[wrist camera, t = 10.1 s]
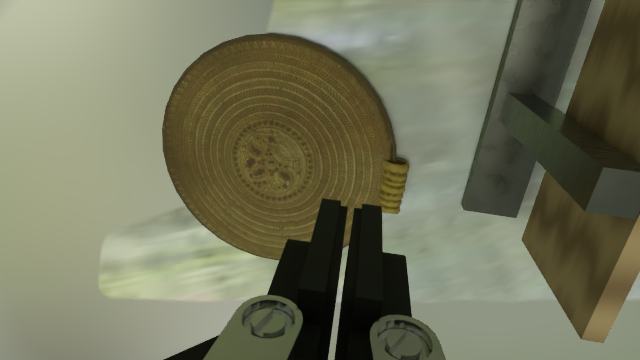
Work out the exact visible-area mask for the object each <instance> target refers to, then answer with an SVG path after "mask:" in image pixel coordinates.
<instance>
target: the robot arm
mask: <svg viewBox="0 0 640 360" xmlns="http://www.w3.org/2000/svg"><path fill="white" fill-rule="evenodd" d="M347 211H348V207H347V206H341V201H340V200H332V199H325V198H322V201H321V204H320V208H319V212H318V216H317V219H316V223H315V227H314V230H313V234H312V238H311V242H307V241H300V240H294V239H288V240H287V242H286V244H285V247H284V250H283V253H282V255H281V258H280V261H279V264H278V266H277V269H276V272H275V275H274V277H273V280H272V283H271V286H270V289H269V291H268V294H267V295H263V296H258V297H254V298H251V299H249V300H247V301H246V302H244V303H243V304H242V305H241V306H240V307H239V308H238V309H237V310H236V312H235V313H234V315H233V316H232V318H231V319H230V321H229V322H228V323H227V325H226V327H225V328H224V330H223V331H222V332H221V334H220V335H219V336H216V337H214V338H212V339H210V340H207V341H205V342H203V343H200V344H198V345H196V346H194V347H191V348H189V349H187V350H185V351H182V352H180V353H178V354H176V355H173V356H171V357H169V358H167V359H164V360H328V354H329V346H330V339H331V331H332V324H333V317H334V310H335V303H336V295H337V288H338V280H339V272H340V265H341V257H342V249H343V242H344V234H345V226H346V219H347ZM335 360H446V359H445V356H444V353H443V350H442V347H441V344H440V342H439V340H438V338H437V336H436V334H435V333H434V332H433V331H432V330H431V329H430V328H429V327H428V326H427V325H425V324H424V323H422V322H420V321H419V320H417V319H414V318H412V314H411V305H410V294H409V284H408V274H407V264H406V257H405V255H398V254H391V253H384V252H382V206H377V205H369V204H362V209H361V208H354V213H353V220H352V227H351V234H350V242H349V249H348V256H347V263H346V271H345V278H344V285H343V293H342V301H341V310H340V318H339V327H338V335H337V344H336V352H335Z"/></svg>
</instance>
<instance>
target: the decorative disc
mask: <svg viewBox="0 0 640 360" xmlns="http://www.w3.org/2000/svg"><path fill="white" fill-rule="evenodd" d="M162 134H163V152H164V157H165V161H166V165H167V169H168V172H169V175H170V177H171V180H172V182H173V184H174V187H175V189H176V191H177V193H178V194H179V196H180V197H181V199H182V200H183V202H184V204H185V205H186V207H187V208H188V209H189V211H190V212H191V213H192V214H193V215H194V216H195V217H196V218H197V220H198V221H199V222H200V223H201V224H202V225H203V226H205V227H206V228H207V229H208V230H210V231H211V232H212V233H213V234H215V235H216V236H217V237H218V238H220V239H221V240H223V241H225V242H226V243H228V244H230V245H232V246H234V247H235V248H237V249H240V250H243V251H245V252H248V253H250V254H253V255H256V256H260V257H264V258H269V259H274V260H280V258H281V255H282V253H283V250H284V247H285V244H286V242H287V240H288V239H294V240H300V241H307V242H311V238H312V234H313V230H314V227H315V223H316V219H317V216H318V212H319V208H320V204H321V201H322V198H325V199H332V200H340V201H341V206H347V207H348V211H347V219H346V226H345V234H344V242H343V248H344V247H346V246H348V245H349V242H350V234H351V227H352V220H353V213H354V208H361V209H362V204H369V205H377V206H382V212H384V213H391V214H398V213H399V211H400V207H399V205H400V204H401V202H402V201H401V199H402V198H403V192H404V191H405V183H406V179H407V172H408V170H409V164H408V163H407V162H406V161H405V160H402V159H399V158H396V145H395V140H394V135H393V131H392V126H391V122H390V120H389V118H388V116H387V113H386V111H385V109H384V107H383V104H382V102H381V100H380V99H379V97H378V96H377V94H376V93H375V92H374V90H373V89H372V87H371V86H370V85H369V83H368V82H367V80H366V79H365V78H364V77H363V76H362V75H361V74H360V73H359V72H357V71H356V70H355V69H354V68H353V67H352V66H351V65H350V64H349V63H348V62H347V61H346V60H344V59H342V58H341V57H339V56H338V55H336V54H334V53H333V52H331V51H329V50H328V49H326V48H325V47H323V46H320V45H318V44H315V43H312V42H309V41H307V40H304V39H301V38H299V37H293V36H286V35H279V34H259V35H258V34H257V35H246V36H243V37H239V38H235V39H232V40H229V41H226V42H223V43H221V44H219V45H218V46H216V47H214V48H212V49H210V50H208V51H207V52H205V53H203V54H202V55H201V56H200V57H199V58H198V59H197V60H196V61H194V62H193V63H192V64H191V65H190V66H189V67H188V68H187V69H186V70H185V72H184V73H183V74H182V76H181V77H180V79H179V80H178V82H177V83H176V85H175V86H174V88H173V91H172V93H171V96H170V98H169V101H168V103H167V106H166V110H165V115H164V122H163V128H162Z"/></svg>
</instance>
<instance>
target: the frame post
mask: <svg viewBox="0 0 640 360" xmlns="http://www.w3.org/2000/svg"><path fill="white" fill-rule="evenodd" d="M590 2H591V0H518V2H517V6H516V10H515V13H514V17H513V20H512V24H511V28H510V31H509V35H508V38H507V42H506V46H505V49H504V53H503V56H502V60H501V64H500V67H499V71H498V74H497V78H496V82H495V85H494V89H493V92H492V96H491V100H490V103H489V107H488V110H487V114H486V118H485V121H484V125H483V128H482V132H481V136H480V139H479V143H478V146H477V150H476V154H475V157H474V161H473V164H472V168H471V172H470V175H469V179H468V182H467V186H466V190H465V193H464V197H463V200H462V207H463V209H464V210H467V211H474V212H480V213H487V214H494V215H500V216H507V217H513V218H516V217H517V214H518V211H519V209H520V206H521V203H522V200H523V197H524V194H525V191H526V188H527V185H528V182H529V179H530V177H531V174H532V171H533V168H534V165H535V162H536V160H537V161H538V162H539V163H540V164H541V165H542V166H543V168H544V169H545V170H546V171H547V172H548V173H549V174H550V175H551V176H552V177H553V178H554V179H555V180H556V181H557V182H558V184H559V185H560V186H561V187H562V188H563V189H564V190H565V191H566V192H567V193H568V194H569V195H570V196H571V197H572V198H573V199H574V201H575V202H576V203H577V204H578V205H579V206H580V207H581V208H582V209H583V210H584V211H585V212H590V213H597V214H603V215H610V216H617V217H624V218H630V219H636V217H637V215H638V213H639V211H640V163H638V162H637V161H635V160H634V159H632V158H631V157H629V156H628V155H626V154H624V153H623V152H621V151H620V150H618V149H617V148H615V147H614V146H612V145H611V144H609V143H608V142H606V141H605V140H603V139H602V138H600V137H599V136H597V135H596V134H594V133H593V132H591V131H590V130H588V129H587V128H585V127H584V126H582V125H580V124H579V123H577V122H576V121H574V120H573V119H571V118H570V117H568V116H567V115H565V114H564V113H562V112H561V111H559V110H558V109H556V108H555V104H556V101H557V98H558V95H559V92H560V89H561V86H562V84H563V81H564V78H565V75H566V72H567V69H568V66H569V63H570V60H571V57H572V55H573V52H574V49H575V46H576V43H577V40H578V37H579V34H580V31H581V28H582V25H583V23H584V20H585V17H586V14H587V11H588V8H589V5H590Z"/></svg>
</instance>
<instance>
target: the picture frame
mask: <svg viewBox="0 0 640 360" xmlns="http://www.w3.org/2000/svg"><path fill="white" fill-rule="evenodd" d="M566 115H567V116H568V117H570V118H571V119H573V120H574V121H576V122H577V123H579V124H580V125H582V126H584V127H585V128H587V129H588V130H590V131H591V132H593V133H594V134H596V135H597V136H599V137H600V138H602V139H603V140H605V141H606V142H608V143H609V144H611V145H612V146H614V147H615V148H617V149H618V150H620V151H621V152H623V153H624V154H626V155H628V156H629V157H631V158H632V159H634V160H635V161H637V162H638V163H640V0H606V1H605V4H604V7H603V10H602V13H601V15H600V18H599V21H598V24H597V27H596V30H595V32H594V35H593V38H592V41H591V44H590V47H589V49H588V52H587V55H586V58H585V61H584V64H583V67H582V69H581V72H580V75H579V78H578V81H577V84H576V86H575V89H574V92H573V95H572V98H571V101H570V104H569V106H568V109H567V112H566ZM522 241H523V243H524V245H525V246H526V248H527V250H528V251H529V253H530V255H531V256H532V258H533V260H534V261H535V263H536V265H537V266H538V268H539V270H540V271H541V273H542V275H543V277H544V278H545V280H546V282H547V283H548V285H549V287H550V288H551V290H552V292H553V293H554V295H555V297H556V298H557V300H558V302H559V303H560V305H561V307H562V308H563V310H564V312H565V313H566V315H567V317H568V318H569V320H570V322H571V323H572V325H573V327H574V328H575V330H576V332H577V333H578V335H579V337H580V338H581V339H583V340H588V341H594V342H601V343H604V341H605V339H606V337H607V335H608V333H609V331H610V329H611V327H612V325H613V323H614V321H615V319H616V317H617V315H618V313H619V311H620V309H621V307H622V305H623V303H624V301H625V299H626V297H627V295H628V293H629V291H630V289H631V287H632V285H633V283H634V281H635V279H636V277H637V275H638V273H639V271H640V211H639V213H638V215H637V217H636V219H630V218H624V217H617V216H610V215H603V214H597V213H590V212H585V211H584V210H583V209H582V208H581V207H580V206H579V205H578V204H577V203H576V202H575V201H574V199H573V198H572V197H571V196H570V195H569V194H568V193H567V192H566V191H565V190H564V189H563V188H562V187H561V186H560V185H559V184H558V182H557V181H556V180H555V179H554V178H553V177H552V176H551V175H550V174H549V173H548V172H547V171H546V172H545V175H544V177H543V180H542V183H541V186H540V189H539V192H538V195H537V197H536V200H535V203H534V206H533V209H532V212H531V214H530V217H529V220H528V223H527V226H526V229H525V232H524V234H523V237H522Z"/></svg>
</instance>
